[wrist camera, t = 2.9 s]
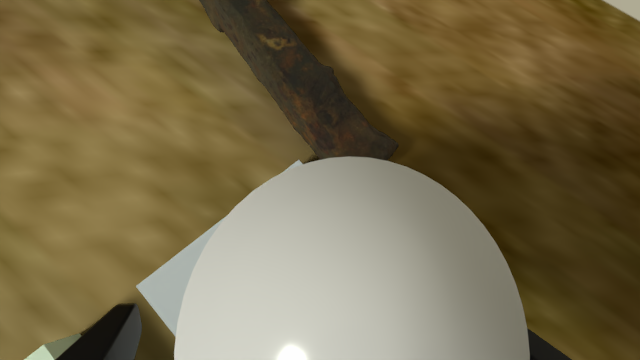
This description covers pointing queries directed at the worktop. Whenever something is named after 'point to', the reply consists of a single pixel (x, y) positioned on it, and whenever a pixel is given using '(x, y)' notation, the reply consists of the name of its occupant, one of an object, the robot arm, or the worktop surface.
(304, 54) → the hand tool
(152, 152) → the worktop surface
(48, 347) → the parts tray
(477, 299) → the mushroom-shaped knob
